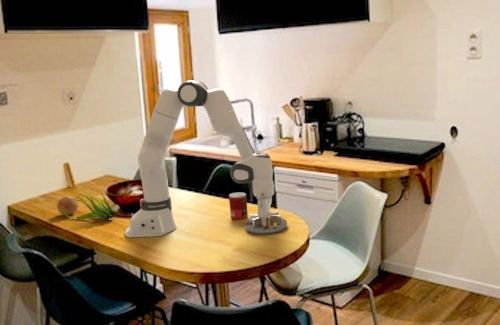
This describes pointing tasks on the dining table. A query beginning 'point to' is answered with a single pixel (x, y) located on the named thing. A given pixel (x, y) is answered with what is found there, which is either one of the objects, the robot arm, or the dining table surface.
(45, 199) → the dining table surface
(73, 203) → the onion
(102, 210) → the decorative plant
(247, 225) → the disc
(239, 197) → the canned food
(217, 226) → the dining table surface
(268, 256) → the dining table surface
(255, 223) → the finned rotor disc
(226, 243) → the dining table surface
